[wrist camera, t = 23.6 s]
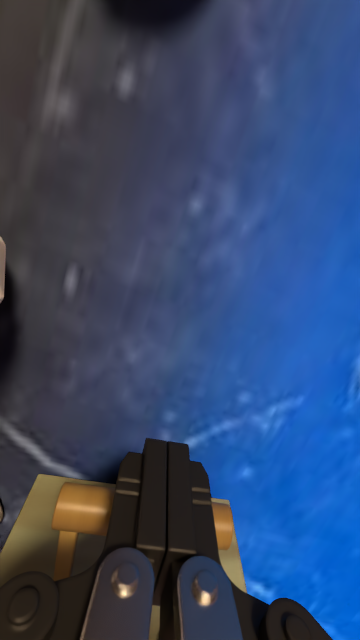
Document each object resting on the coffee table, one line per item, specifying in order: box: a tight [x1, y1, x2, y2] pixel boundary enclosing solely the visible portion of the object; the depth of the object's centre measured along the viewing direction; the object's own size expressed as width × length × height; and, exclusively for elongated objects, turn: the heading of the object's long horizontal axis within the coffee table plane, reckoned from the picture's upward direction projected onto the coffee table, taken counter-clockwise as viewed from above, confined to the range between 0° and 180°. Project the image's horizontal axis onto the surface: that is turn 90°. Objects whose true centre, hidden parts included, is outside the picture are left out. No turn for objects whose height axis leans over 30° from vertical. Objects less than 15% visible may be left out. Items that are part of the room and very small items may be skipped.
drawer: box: [0, 474, 247, 640], centre depth 14 cm, size 15×10×7 cm
